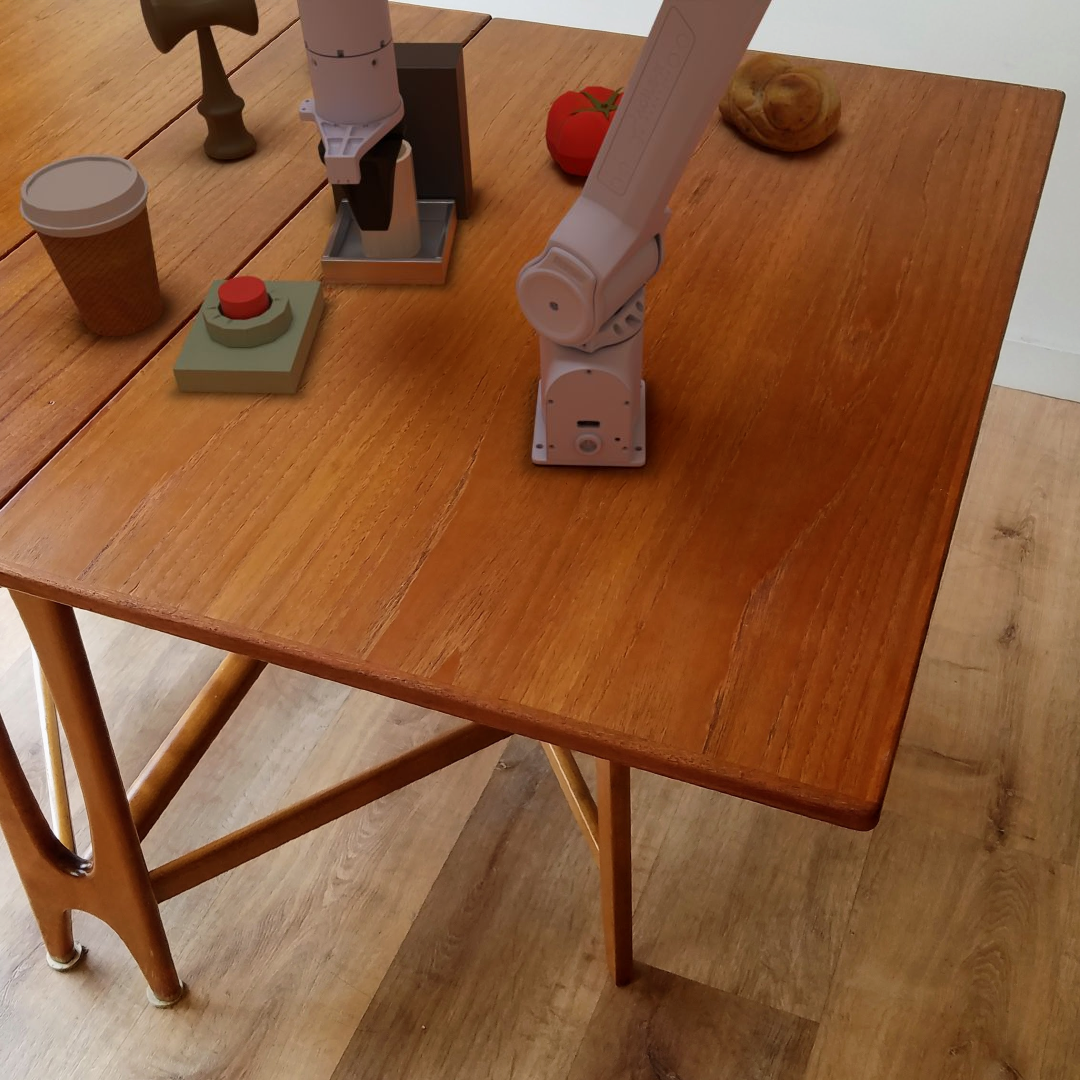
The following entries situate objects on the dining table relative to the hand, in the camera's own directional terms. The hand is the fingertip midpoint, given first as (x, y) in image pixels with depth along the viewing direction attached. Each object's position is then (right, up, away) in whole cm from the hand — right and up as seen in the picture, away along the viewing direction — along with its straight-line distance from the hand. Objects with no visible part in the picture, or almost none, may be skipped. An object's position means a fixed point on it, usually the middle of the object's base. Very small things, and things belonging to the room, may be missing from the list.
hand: (375, 226), depth 85 cm
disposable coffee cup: (-22, -4, +11) cm, 25 cm away
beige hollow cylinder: (-1, +3, +16) cm, 16 cm away
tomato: (+18, +13, +27) cm, 35 cm away
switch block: (-11, -8, +7) cm, 15 cm away
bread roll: (+36, +18, +31) cm, 50 cm away
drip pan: (-1, +2, +17) cm, 17 cm away
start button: (-11, -5, +5) cm, 13 cm away
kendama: (-19, +16, +30) cm, 39 cm away
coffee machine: (0, +8, +22) cm, 23 cm away
